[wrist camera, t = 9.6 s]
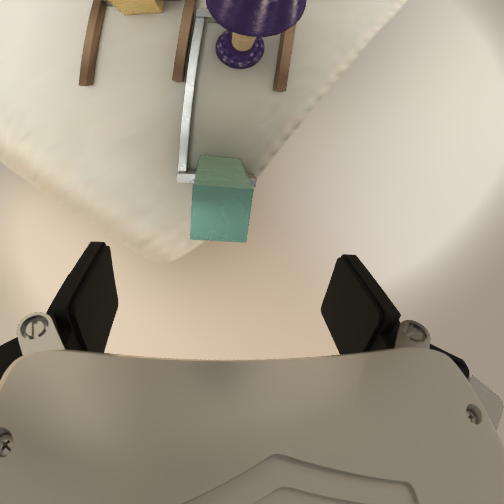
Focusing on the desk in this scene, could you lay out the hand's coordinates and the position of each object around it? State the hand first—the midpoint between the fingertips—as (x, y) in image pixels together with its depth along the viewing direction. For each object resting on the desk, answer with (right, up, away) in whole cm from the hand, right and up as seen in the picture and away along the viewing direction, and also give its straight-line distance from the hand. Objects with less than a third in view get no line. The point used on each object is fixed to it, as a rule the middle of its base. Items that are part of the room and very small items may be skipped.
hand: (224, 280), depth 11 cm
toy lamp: (0, +19, +9) cm, 21 cm away
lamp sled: (-1, +15, +11) cm, 19 cm away
